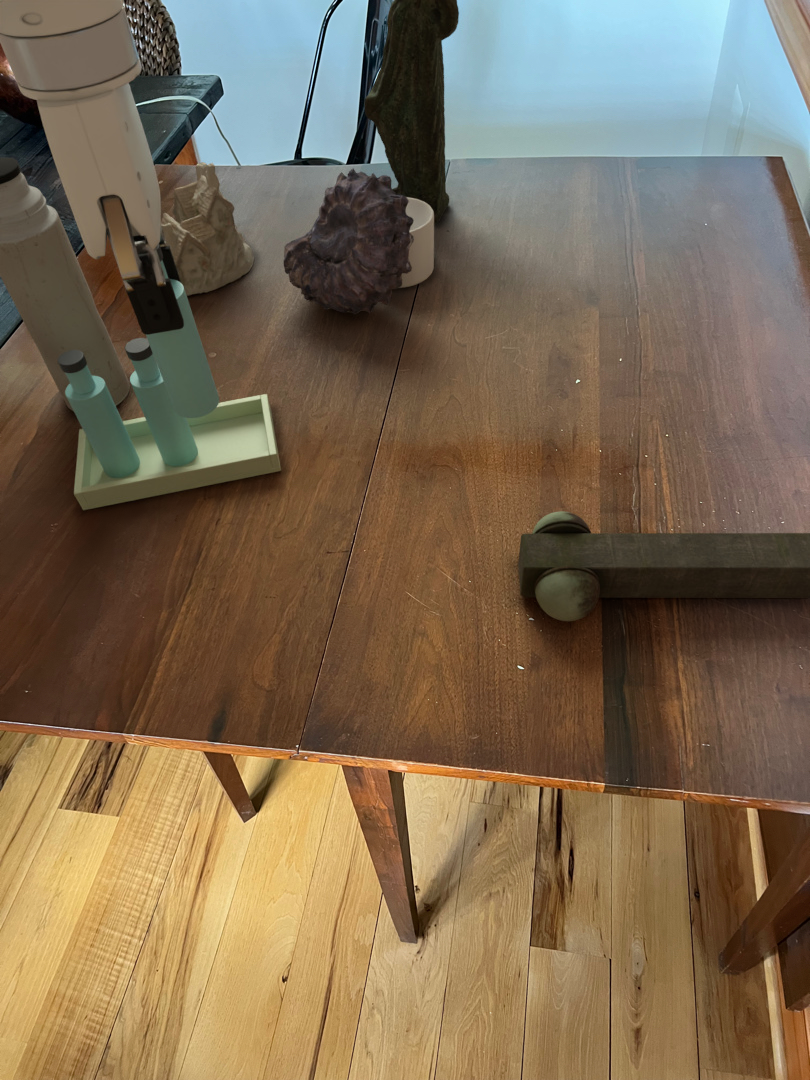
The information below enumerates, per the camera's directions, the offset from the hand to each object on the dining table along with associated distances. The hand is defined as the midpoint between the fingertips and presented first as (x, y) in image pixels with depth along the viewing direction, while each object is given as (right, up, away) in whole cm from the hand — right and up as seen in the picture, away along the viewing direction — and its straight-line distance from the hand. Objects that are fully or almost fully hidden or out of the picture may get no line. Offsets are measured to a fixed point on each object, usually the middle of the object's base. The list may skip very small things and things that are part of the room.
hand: (163, 310), depth 61 cm
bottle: (+1, -6, +7) cm, 9 cm away
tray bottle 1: (-13, -10, +26) cm, 30 cm away
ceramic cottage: (-11, +23, +54) cm, 60 cm away
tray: (-6, -9, +27) cm, 29 cm away
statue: (+21, +34, +60) cm, 72 cm away
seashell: (+15, +21, +41) cm, 49 cm away
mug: (+17, +21, +50) cm, 57 cm away
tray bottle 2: (-6, -8, +26) cm, 28 cm away
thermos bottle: (-19, 0, +36) cm, 40 cm away
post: (+45, -17, +12) cm, 50 cm away
